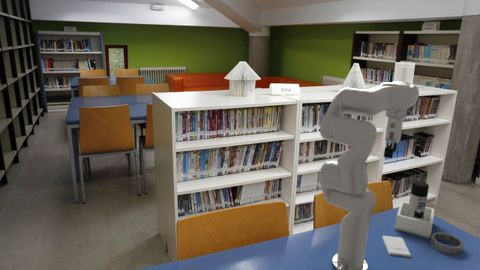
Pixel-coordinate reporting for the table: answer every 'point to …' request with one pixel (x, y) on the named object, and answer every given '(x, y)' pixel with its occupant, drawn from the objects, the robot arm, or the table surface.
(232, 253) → the table surface
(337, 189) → the robot arm
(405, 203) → the bin
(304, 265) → the table surface
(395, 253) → the external hard drive
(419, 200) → the spray can
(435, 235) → the collar
